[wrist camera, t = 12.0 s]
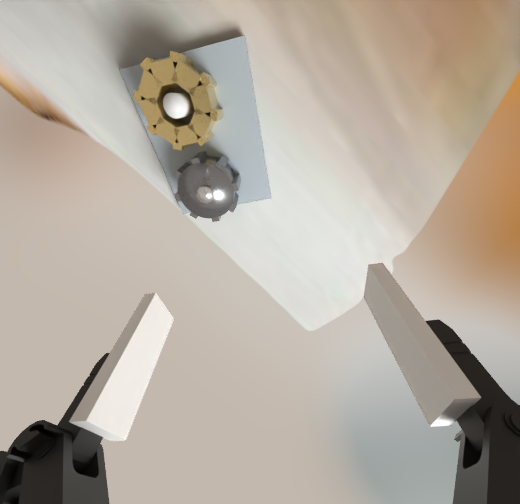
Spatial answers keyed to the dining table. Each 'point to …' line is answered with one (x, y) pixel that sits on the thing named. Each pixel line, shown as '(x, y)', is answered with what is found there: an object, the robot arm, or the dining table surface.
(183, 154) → the gear board
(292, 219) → the dining table surface
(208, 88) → the gear
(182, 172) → the gear
